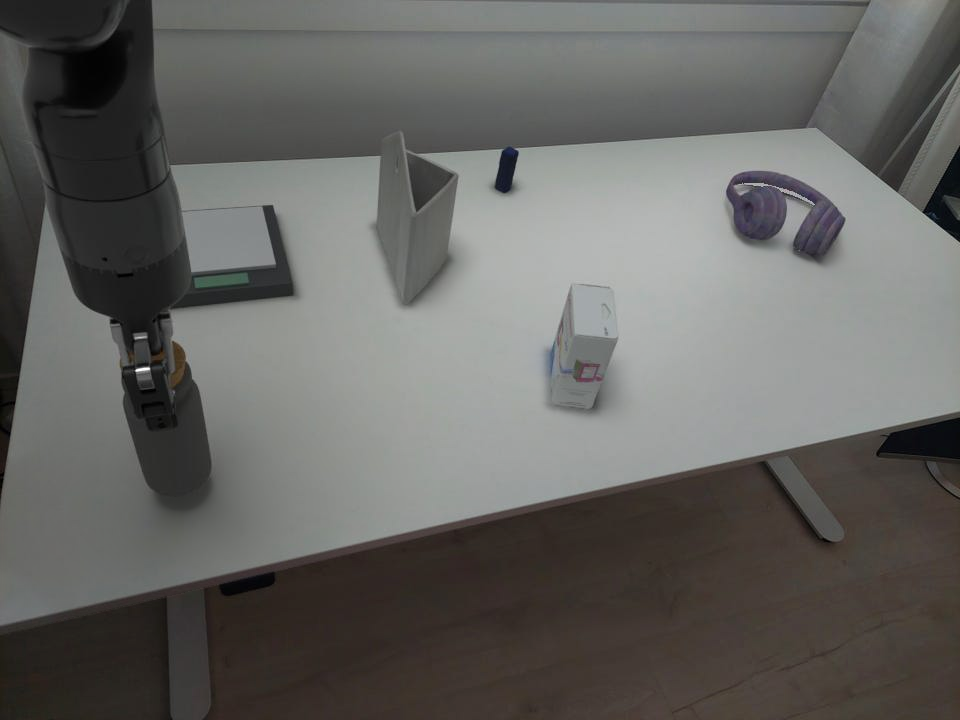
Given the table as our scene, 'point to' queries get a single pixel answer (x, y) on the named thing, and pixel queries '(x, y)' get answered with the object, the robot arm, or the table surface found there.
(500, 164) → the eraser
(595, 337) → the ink box
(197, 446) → the bottle
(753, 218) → the headphones
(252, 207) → the scale
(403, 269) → the planter
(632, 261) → the table surface
